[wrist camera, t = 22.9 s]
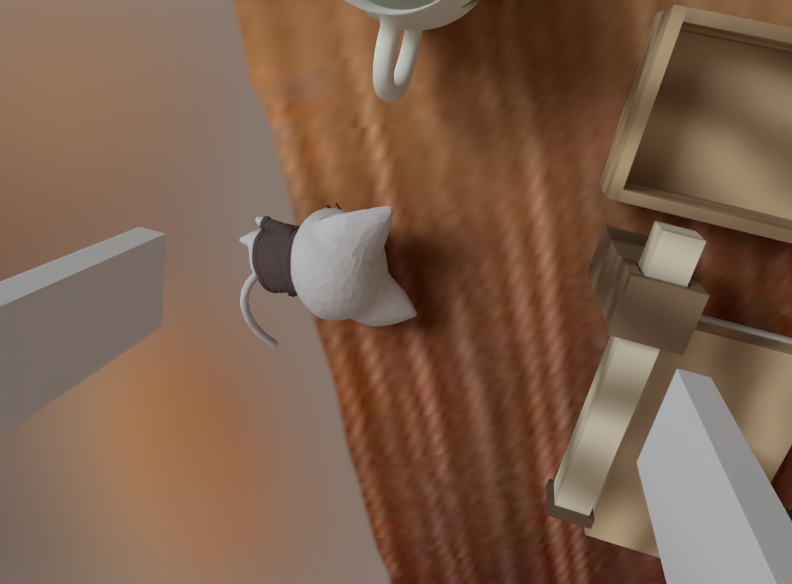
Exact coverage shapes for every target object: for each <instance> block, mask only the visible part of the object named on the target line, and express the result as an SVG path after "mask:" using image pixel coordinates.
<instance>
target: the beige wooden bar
mask: <svg viewBox="0 0 792 584" xmlns="http://www.w3.org/2000/svg"><path fill="white" fill-rule="evenodd" d="M705 244H706V240H705V239H704V238H702V237H701V236H700V235H699V234H698V233H697V232H696V231H694V230H690V229H686V228H682V227H678V226H674V225H670V224H666V223H662V222H658V221H655V222H654V224H653V227H652V230H651V232H650V235H649V237H648V240H647V243H646V245H645V248H644V250H643V253H642V256H641V258H640V261H639V263H638V266H637V267H638V269H639V271H640V273H641V275H643V276H647V277H651V278H655V279H659V280H663V281H667V282H670V283H674V284H678V285H682V286H686V287H687V286H688V283H689V281H690V279H691V276H692V274H693V272H694V269H695V267H696V265H697V262H698V260H699V258H700V255H701V253H702V251H703V248H704V246H705ZM659 351H660V349H658V348H654V347H650V346H647V345H643V344H640V343H636V342H632V341H629V340H625V339H621V338H618V337H614V336H610V338H609V341H608V344H607V346H606V349H605V351H604V354H603V357H602V359H601V362H600V364H599V367H598V370H597V372H596V375H595V377H594V380H593V382H592V385H591V388H590V390H589V393H588V395H587V398H586V401H585V403H584V406H583V408H582V411H581V414H580V416H579V419H578V421H577V424H576V427H575V429H574V432H573V434H572V437H571V439H570V442H569V445H568V447H567V450H566V452H565V455H564V458H563V460H562V463H561V465H560V468H559V471H558V473H557V476H556V478H555V480H552V479H549V480H548V483H547V485H546V507H547V515H548V516H551V517H554V518H557V519H560V520H564V521H567V522H570V523H573V524H576V525H579V526H583V527H586V528H589V529H591V528H592V526H593V523H594V521H595V520H594V512H593V506H594V504H595V501H596V499H597V497H598V494H599V492H600V490H601V487H602V485H603V482H604V480H605V478H606V475H607V473H608V471H609V468H610V466H611V464H612V461H613V459H614V457H615V454H616V452H617V450H618V447H619V445H620V443H621V440H622V438H623V436H624V433H625V431H626V429H627V426H628V424H629V422H630V419H631V417H632V415H633V412H634V410H635V408H636V405H637V403H638V401H639V398H640V396H641V394H642V391H643V389H644V386H645V384H646V382H647V379H648V377H649V375H650V372H651V370H652V368H653V365H654V363H655V361H656V358H657V356H658V354H659Z"/></svg>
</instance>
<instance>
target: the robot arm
mask: <svg viewBox="0 0 792 584" xmlns="http://www.w3.org/2000/svg"><path fill="white" fill-rule="evenodd" d="M164 256H165V234H164V233H160V232H156V231H153V230H149V229H145V228H141V227H137V228H135V229H133V230H130V231H128V232H125V233H122V234H120V235H117V236H115V237H112V238H110V239H107V240H104V241H102V242H100V243H97V244H95V245H92V246H89V247H87V248H84V249H82V250H79V251H77V252H74V253H72V254H69V255H66V256H64V257H62V258H59V259H56V260H54V261H51V262H49V263H46V264H44V265H41V266H39V267H36V268H33V269H31V270H28V271H26V272H23V273H21V274H18V275H16V276H13V277H11V278H8V279H6V280H3V281H0V437H1V436H2V435H4V434H5V433H7V432H8V431H10V430H11V429H13V428H14V427H16V426H17V425H18V424H20V423H22V422H23V421H24V420H26V419H27V418H29V417H30V416H32V415H33V414H35V413H36V412H37V411H39V410H40V409H42V408H43V407H45V406H46V405H48V404H49V403H51V402H52V401H54V400H55V399H56V398H58V397H59V396H61V395H62V394H64V393H65V392H67V391H68V390H69V389H71V388H73V387H74V386H76V385H77V384H79V383H80V382H81V381H83V380H84V379H86V378H87V377H89V376H90V375H92V374H93V373H95V372H96V371H98V370H99V369H101V368H102V367H103V366H105V365H106V364H108V363H109V362H111V361H112V360H114V359H115V358H117V357H118V356H119V355H121V354H123V353H124V352H125V351H127V350H128V349H130V348H131V347H133V346H134V345H136V344H137V343H138V342H140V341H141V340H143V339H144V338H146V337H147V336H149V335H150V334H152V333H153V332H154V331H156V330H158V329H159V328H160V327H162V314H163V285H164V284H163V283H164ZM637 467H638V471H639V475H640V479H641V483H642V487H643V491H644V495H645V499H646V503H647V507H648V511H649V515H650V519H651V522H652V526H653V530H654V534H655V538H656V542H657V546H658V550H659V554H660V558H661V562H662V566H663V570H664V574H665V578H666V582H667V584H792V511H791V510H788V509H784V507H783V505H782V503H781V501H780V500H779V498H778V496H777V494H776V493H775V491H774V489H773V487H772V485H771V484H770V482H769V480H768V478H767V477H766V475H765V473H764V471H763V469H762V468H761V466H760V464H759V462H758V460H757V459H756V457H755V455H754V453H753V452H752V450H751V448H750V446H749V444H748V443H747V441H746V439H745V437H744V436H743V434H742V432H741V430H740V428H739V427H738V425H737V423H736V421H735V420H734V418H733V416H732V414H731V412H730V411H729V409H728V407H727V405H726V403H725V402H724V400H723V398H722V396H721V395H720V393H719V391H718V389H717V387H716V386H715V384H714V382H713V380H712V379H711V377H707V376H704V375H700V374H696V373H692V372H688V371H685V370H681V369H676V372H675V374H674V376H673V379H672V381H671V383H670V386H669V388H668V390H667V393H666V395H665V397H664V400H663V402H662V404H661V407H660V409H659V411H658V414H657V416H656V418H655V421H654V423H653V425H652V428H651V430H650V432H649V435H648V437H647V439H646V442H645V444H644V446H643V449H642V451H641V453H640V456H639V458H638V460H637Z"/></svg>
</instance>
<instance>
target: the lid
mask: <svg viewBox="0 0 792 584" xmlns="http://www.w3.org/2000/svg"><path fill="white" fill-rule="evenodd" d="M676 369H681V370H685V371H688V372H692V373H696V374H700V375H704V376H707V377H711V379H712V380H713V382H714V384H715V386H716V387H717V389H718V391H719V393H720V395H721V396H722V398H723V400H724V402H725V403H726V405H727V407H728V409H729V411H730V412H731V414H732V416H733V418H734V420H735V421H736V423H737V425H738V427H739V428H740V430H741V432H742V434H743V436H744V437H745V439H746V441H747V443H748V444H749V446H750V448H751V450H752V452H753V453H754V455H755V457H756V459H757V460H758V462H759V464H760V466H761V468H762V469H763V471H764V473H765V475H766V477H767V478H768V480H769V482H770V483H771V481H772V480H773V478H774V476H775V474H776V472H777V470H778V469H779V467H780V465H781V463H782V461H783V460H784V458H785V456H786V454H787V452H788V451H789V449H790V447H791V445H792V344H789V343H786V342H782V341H778V340H774V339H770V338H766V337H762V336H758V335H754V334H750V333H747V332H743V331H739V330H735V329H731V328H727V327H723V326H719V325H715V324H712V323H708V322H704V321H700V320H699V321H698V324H697V326H696V328H695V330H694V333H693V335H692V337H691V339H690V342H689V344H688V346H687V348H686V351H685V353H684V355H680V354H676V353H672V352H669V351H665V350H661V349H660V351H659V354H658V356H657V358H656V361H655V363H654V365H653V368H652V370H651V372H650V375H649V377H648V379H647V382H646V384H645V386H644V389H643V391H642V394H641V396H640V398H639V401H638V403H637V405H636V408H635V410H634V412H633V415H632V417H631V419H630V422H629V424H628V426H627V429H626V431H625V433H624V436H623V438H622V440H621V443H620V445H619V447H618V450H617V452H616V454H615V457H614V459H613V461H612V464H611V466H610V468H609V471H608V473H607V475H606V478H605V480H604V482H603V485H602V487H601V490H600V492H599V494H598V497H597V499H596V501H595V504H594V506H593V512H594V520H595V521H594V523H593V526H592V528H591V529H589V528H586V527H584V529H585V535H588V536H591V537H594V538H598V539H601V540H604V541H607V542H610V543H614V544H617V545H620V546H623V547H627V548H630V549H633V550H636V551H639V552H643V553H646V554H649V555H652V556H656V557H659V558H660V554H659V550H658V546H657V542H656V538H655V534H654V530H653V526H652V522H651V519H650V515H649V511H648V507H647V503H646V499H645V495H644V491H643V487H642V483H641V479H640V475H639V471H638V467H637V460H638V458H639V456H640V453H641V451H642V449H643V446H644V444H645V442H646V439H647V437H648V435H649V432H650V430H651V428H652V425H653V423H654V421H655V418H656V416H657V414H658V411H659V409H660V407H661V404H662V402H663V400H664V397H665V395H666V393H667V390H668V388H669V386H670V383H671V381H672V379H673V376H674V374H675V372H676Z"/></svg>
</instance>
